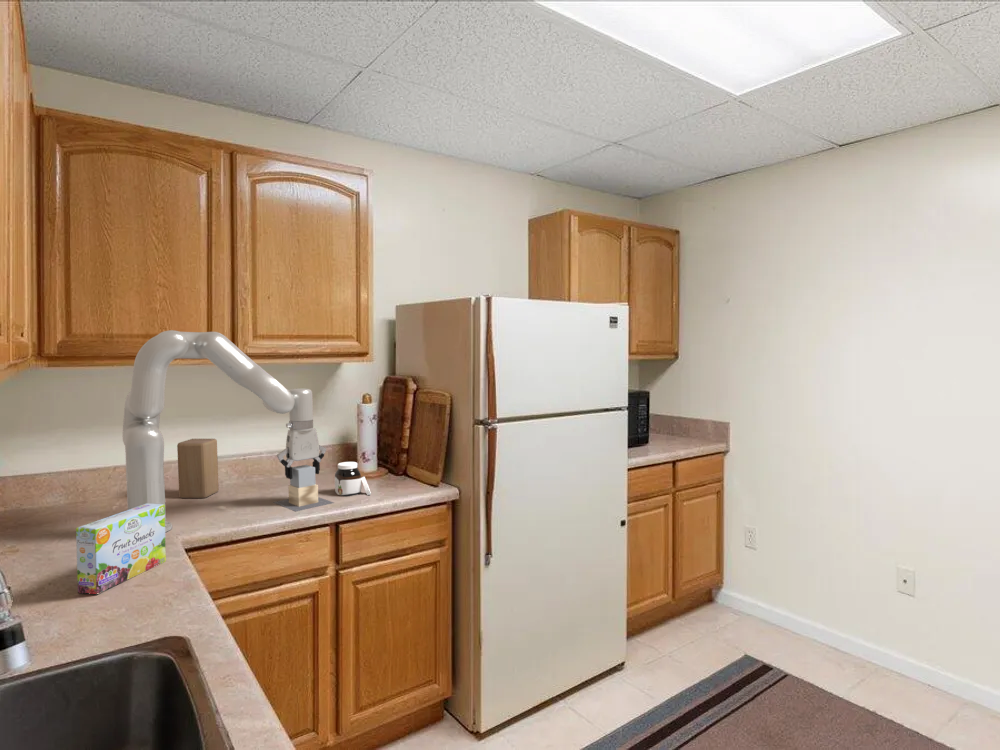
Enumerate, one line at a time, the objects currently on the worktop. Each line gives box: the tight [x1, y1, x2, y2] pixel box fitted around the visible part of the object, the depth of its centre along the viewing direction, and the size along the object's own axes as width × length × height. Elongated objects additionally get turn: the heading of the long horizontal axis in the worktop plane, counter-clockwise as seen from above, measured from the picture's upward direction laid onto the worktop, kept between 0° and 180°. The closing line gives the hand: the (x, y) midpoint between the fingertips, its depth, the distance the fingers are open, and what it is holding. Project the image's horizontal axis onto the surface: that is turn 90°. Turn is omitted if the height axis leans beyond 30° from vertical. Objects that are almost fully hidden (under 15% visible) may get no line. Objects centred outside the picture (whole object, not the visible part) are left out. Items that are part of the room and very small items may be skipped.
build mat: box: [272, 496, 335, 512], centre depth 204 cm, size 14×16×1 cm
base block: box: [287, 484, 319, 506], centre depth 204 cm, size 7×7×6 cm
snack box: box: [75, 503, 167, 595], centre depth 143 cm, size 21×6×15 cm, turn 170°
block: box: [176, 438, 220, 499], centre depth 218 cm, size 10×10×20 cm
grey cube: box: [289, 464, 316, 488], centre depth 203 cm, size 6×6×6 cm
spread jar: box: [334, 461, 372, 497], centre depth 216 cm, size 12×11×12 cm
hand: (302, 475), depth 203 cm, fingers open, 9 cm apart
